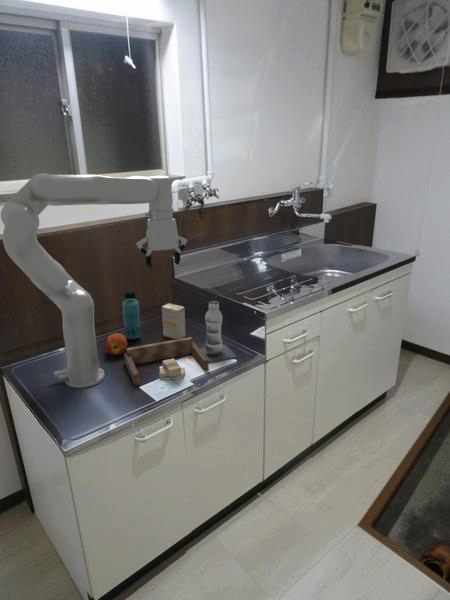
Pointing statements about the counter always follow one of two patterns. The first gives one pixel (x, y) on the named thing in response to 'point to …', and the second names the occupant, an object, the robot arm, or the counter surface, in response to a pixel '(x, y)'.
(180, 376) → the bottom offcut
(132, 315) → the beverage bottle
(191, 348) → the frame
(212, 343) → the plastic bottle
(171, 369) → the top offcut
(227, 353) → the mat
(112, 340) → the apple
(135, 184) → the robot arm
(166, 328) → the supplement box
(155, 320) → the counter surface
